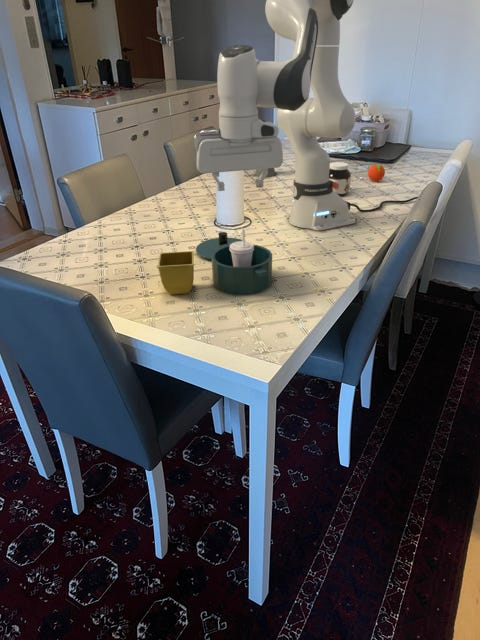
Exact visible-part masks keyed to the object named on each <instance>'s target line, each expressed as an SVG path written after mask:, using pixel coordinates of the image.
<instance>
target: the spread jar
mask: <svg viewBox="0 0 480 640" xmlns="http://www.w3.org/2000/svg"><path fill="white" fill-rule="evenodd" d="M348 167H349V164H348V163H346V162H341V161H335V162H330V168H329V180H331V181H333V182H336V183H338V184H339V186H338V187H339V188H338V189H334V188H333V191H334V192H335V193H336V194H338V195H339V196H340V197H341V198H342V197H344V196H346V195H347V194H348V193H349V191H350V188H351V181H352V174H351V171H350V170H349V169H348Z"/></svg>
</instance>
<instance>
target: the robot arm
mask: <svg viewBox="0 0 480 640" xmlns="http://www.w3.org/2000/svg"><path fill="white" fill-rule="evenodd" d="M353 3H354V0H265V7H264V13H265V17H266V21H267V23H268V26H269V27H270V28H271V29H272V30H273V32H274V33H276V34H277V36H280V37H281V38H284V39H287V40H291V41H293V42H294V43H295V45H294V49H293V55H292V57H291V58H289V59H285V60H260V59H258V58H257V56H256V50H255V48H254V47H253V46H251V45H248V44H238V45H232V46H227V47H225V48H223V49H222V50H221V51H220V52H219V56H218V60H217V72H216V73H217V74H216V77H217V78H216V80H217V83H216V84H217V85H216V86H217V96H218V99H219V109H218V128H216V129H209V130H208V129H207V130H206V129H204V130H203V129H202V130H200V131H199V132H197V133H196V134H195V135H194V137H193V147H194V149H195V151H196V158H195V159H196V160H195V162H196V163H195V164H196V170H197V171H198V172H199V173H200V174H211V175H212V178H213V179H214V181H215V182H216V185H217V186H216V188H217V191H218V192H224V191H225V183H224V181H220V180H219V178H220V173H227V172H229V173H230V172H241V171H253V170H256V169H260V171H261V172H262V173H261V175H260V177H259V176H258V178H255V187H256V188H257V189H260V188H261V189H262V188H264V181H265V179H266V178H267V177H266V175H267V173H268V168H274V169H279V168H280V167H281V166H282V165H283V164H284V162H283V161H284V156H283V144H282V141H281V139H280V138H279V137H278V135H279V132H280V130H281V131H282V132H283V133H284V134H285V135H286V137H287V139H288V140H289V142H290V144H291V147H292V150H293V155H294V179H293V184H292V197H293V199H292V205H291V206H292V207H291V212H290V216H289V218H288V223H289V224H290V225H292V226H294V227H297V228H301V229H308V230H314V231H325V230H330V229H335V228H339V227H344V226H348V225H353V224H355V223H356V219H355V216H354V215H353V214H351V213H350V210H351V207H355V208H356V210H357V211H359V212H361V213H368V212H369V213H370V212H374V211H378V210H380V209H381V208H382V207H383V205H384V204H387V203H389V204H390V203H392V204H393V203H397V204H398V203H399V204H400V203H401V204H402V203H403V204H404V203H409V202H411V201H414V200H418V199H417V198H418V197H419V196H414V197H411V198H409V199H405V200H392V199H391V200H383V201H381V202H380V203H379V206H378V207H377V206H376V207H374V208H370V209H362V208H360V206H359V205H357V204H355V203H351V202H349V201H348V200H345V199H344V198H343V197H342V196H341V197H340V196H339V195H338V194H336V193H335V192H334V191H333V188H334V189H338V188H339V187H338V186H339V184H338V183H336V182H333V181H331V180H329V169H330V164H331V157H330V154H329V153H328V152H327V150H326V149H325V148H323V147H322V146H321V145H320V143H319V141H318V138H323V139H338V138H345V137H347V136H349V134H350V133H351V132H352V131H353V129H354V127H355V124H356V117H357V116H356V110H355V108H354V106H353V104H352V103H350V102H349V101H348V100H347V98H346V96H345V94H344V93H343V91H342V88H341V85H340V81H339V55H340V42H341V19H342V18H343V16H344V15H345V14H347V13H348V12H349V10H350V9H351V8H352V6H353ZM311 90H312V93H313V97H309V96H310V91H311ZM258 108H263V109H265V108H267V109H277V111H276V122H277V124H275V123H273V122H271V121H269V120H265V119H260V118H259V110H258ZM279 129H280V130H279Z"/></svg>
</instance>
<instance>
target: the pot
mask: <svg viewBox="0 0 480 640" xmlns="http://www.w3.org/2000/svg"><path fill="white" fill-rule="evenodd" d="M253 245H254V250H253V254H252V262H251V266H248V267H233V261H232V255H231V251H230V250H229V249H230V245H227V244H224V245H220V246H219V249H217V250H216V251H215V252H213V254H212V260H211V275H212V283H213V286H214V287H215V288H216V289H217V290H218V291H219V292H222V293H225V294H229V295H235V296H246V295H247V296H248V295H254V294H255V295H256V294H258V293H261V292H263V291H266V290H267V289H269V288H270V286H271V285H272V281H273V253H272V252H271V250H270V249H268V248H266V247H264V246H261V245H258V244H253Z"/></svg>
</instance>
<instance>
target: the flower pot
mask: <svg viewBox="0 0 480 640" xmlns="http://www.w3.org/2000/svg"><path fill="white" fill-rule="evenodd" d="M194 256H195V252H194V251H193V250H188V251H187V250H186V251H172V252H160V253H159V254H158V263H157V269H158V272H159V273H158V274H159V277H160V280H161V284H162V286H163V288H164V289H165V290H164V291H166V292H167V294H169V295H185V294H190V292H191V291H192V289H193V285H194V279H195V277H194V275H195V273H194V271H195V268H194V267H195V262H194V261H195V260H194V259H195V257H194Z"/></svg>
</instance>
